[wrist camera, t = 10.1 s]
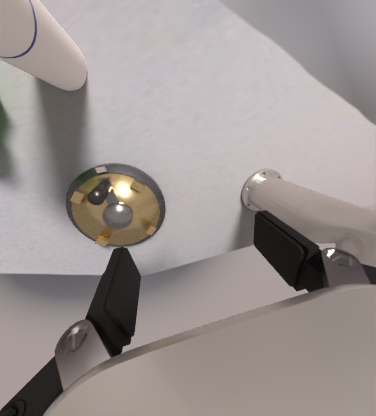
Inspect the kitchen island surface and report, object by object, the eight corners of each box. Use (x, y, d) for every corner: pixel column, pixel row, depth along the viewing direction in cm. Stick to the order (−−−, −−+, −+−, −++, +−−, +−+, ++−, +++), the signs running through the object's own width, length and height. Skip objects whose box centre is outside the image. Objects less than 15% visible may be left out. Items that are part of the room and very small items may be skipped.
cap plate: (172, 175, 35) (174, 178, 33) (156, 243, 43) (156, 250, 41) (68, 151, 28) (61, 153, 26) (71, 238, 36) (66, 245, 34)
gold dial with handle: (96, 154, 28) (78, 162, 21) (173, 199, 36) (179, 217, 28) (60, 224, 32) (34, 251, 25) (136, 251, 40) (133, 277, 33)
